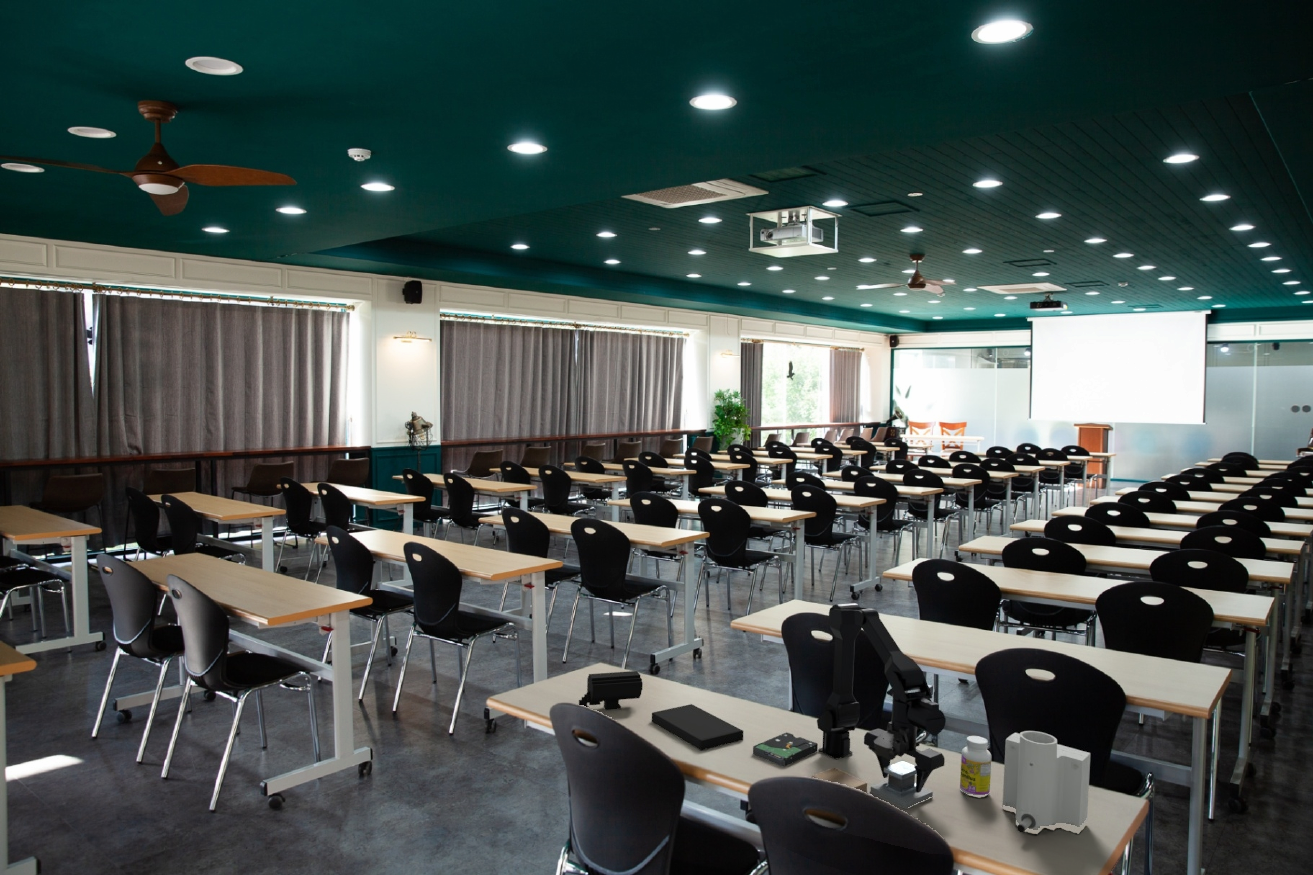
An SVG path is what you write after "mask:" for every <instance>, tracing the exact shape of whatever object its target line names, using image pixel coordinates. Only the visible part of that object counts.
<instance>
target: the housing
mask: <svg viewBox="0 0 1313 875" xmlns="http://www.w3.org/2000/svg"><path fill="white" fill-rule="evenodd" d="M914 766H915V765H914V764H911V763H909V762H906V761H904V760H901V761H898V762H896V763H893V764H890V766H887V767H884V772H885V773H887V774H888V777H887V778H888V779H887V780H888V783H886V784H883V789H885V790H887V791H889V792H891V793H893V794H896V795H898V796H900V797H902V796H904V795H907V794H909V793H912V792H914V791H916V775H917V771H916V770H915V768H914Z"/></svg>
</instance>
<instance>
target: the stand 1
mask: <svg viewBox="0 0 1313 875" xmlns="http://www.w3.org/2000/svg"><path fill="white" fill-rule="evenodd" d="M812 777H814V778H818V779H823V780H828V781H831V782H838V783H840V784H846V785H847V786H849V787H854V788H856V789H860V790H862V791H866V792H868V782H867V781H865V780H863V779H860V778H858V777H856V776H853V775H851V774H849V773H847V772H845V771H843V770H840V769H838V768H836V767H832V768H829V769H827V770H823V771H821V772H818V773H816V774H812V775H811V778H812Z"/></svg>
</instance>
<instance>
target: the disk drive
mask: <svg viewBox="0 0 1313 875" xmlns="http://www.w3.org/2000/svg"><path fill="white" fill-rule="evenodd" d="M818 745H819V744H818V743H817V742H814V741H812V740H809V739H807V738H803V737H802V736H800V737H795V736H794V734H793V733H790V732H787V731H786V732H784V733H781V734H779V735H777V736H775V737H772V738H770V739H766V740H764V741H763V742H760V743H757V744H755V745H753V746H752V755H753V756H756V757H759V758H760V759H762V760H765V761H769V762H771V763H772V764H776V765H778V766H780V767H783V768H784V767H787V766H789V765H792V764H793V763H795V762H798V761H800V760H802V759H804V758H806V757H810V755H814V754H815V753H817V752H818V749H819V748H818Z"/></svg>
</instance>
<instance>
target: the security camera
mask: <svg viewBox="0 0 1313 875" xmlns="http://www.w3.org/2000/svg"><path fill="white" fill-rule="evenodd" d="M586 682H587V686H586V687H587V688H586V689H587V690H586V693H585V694H584V695H583V696H581V699H579V700H578V704H579V705H584V706H586V707H589V708H590V706H598V705H600V706H601V702H602V703H603V708H604V710H605V711H612V710H615V711H616V710H621V709H622V706H621V704H620V703H619V702H620V701H621V700H622V701H623V700H633V699H640V698H641V695H642V691H643V679H642V678H641V674H640V673H639V672H638V670H632V671H631V670H630V671H614V672H601V673H588V676H587V681H586ZM588 704H589V705H588Z"/></svg>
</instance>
